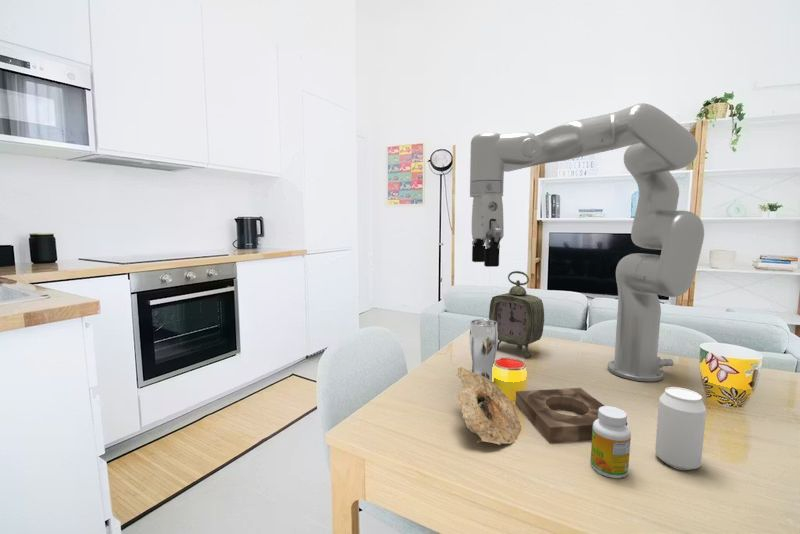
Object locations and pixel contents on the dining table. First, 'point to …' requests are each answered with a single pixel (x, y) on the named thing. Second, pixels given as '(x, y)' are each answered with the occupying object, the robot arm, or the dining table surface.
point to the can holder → (555, 424)
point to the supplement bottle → (610, 443)
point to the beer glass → (483, 346)
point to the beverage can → (680, 428)
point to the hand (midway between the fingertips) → (484, 264)
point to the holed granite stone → (487, 409)
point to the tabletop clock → (518, 316)
